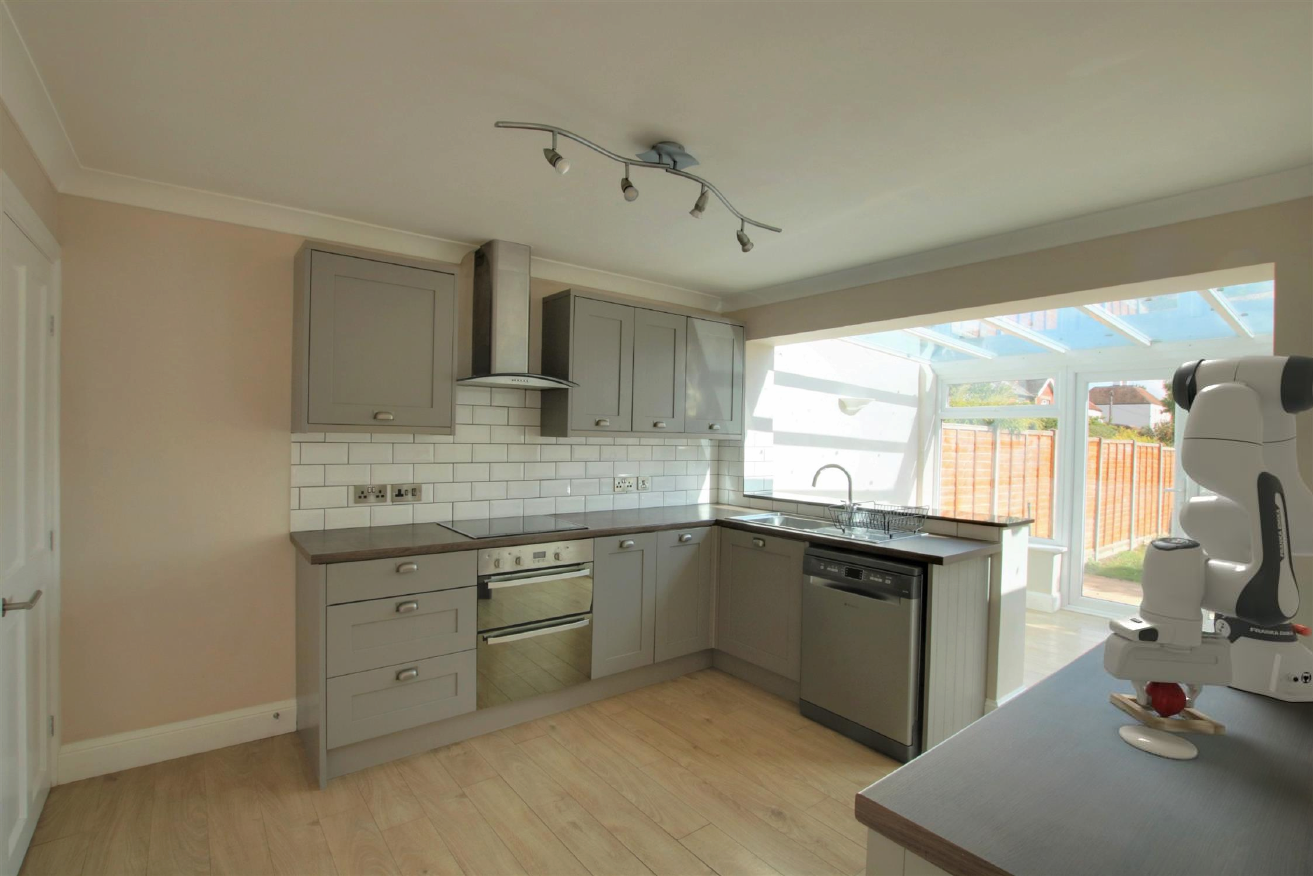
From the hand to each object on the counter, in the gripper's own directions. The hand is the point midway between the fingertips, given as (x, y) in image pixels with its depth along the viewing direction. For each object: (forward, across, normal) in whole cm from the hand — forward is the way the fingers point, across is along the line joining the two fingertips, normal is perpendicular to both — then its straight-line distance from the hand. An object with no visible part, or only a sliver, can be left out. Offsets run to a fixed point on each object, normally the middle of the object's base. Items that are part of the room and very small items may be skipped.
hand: (1164, 705), depth 114 cm
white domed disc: (+2, +9, +11) cm, 14 cm away
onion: (+2, 0, 0) cm, 2 cm away
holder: (+2, 0, 0) cm, 2 cm away
